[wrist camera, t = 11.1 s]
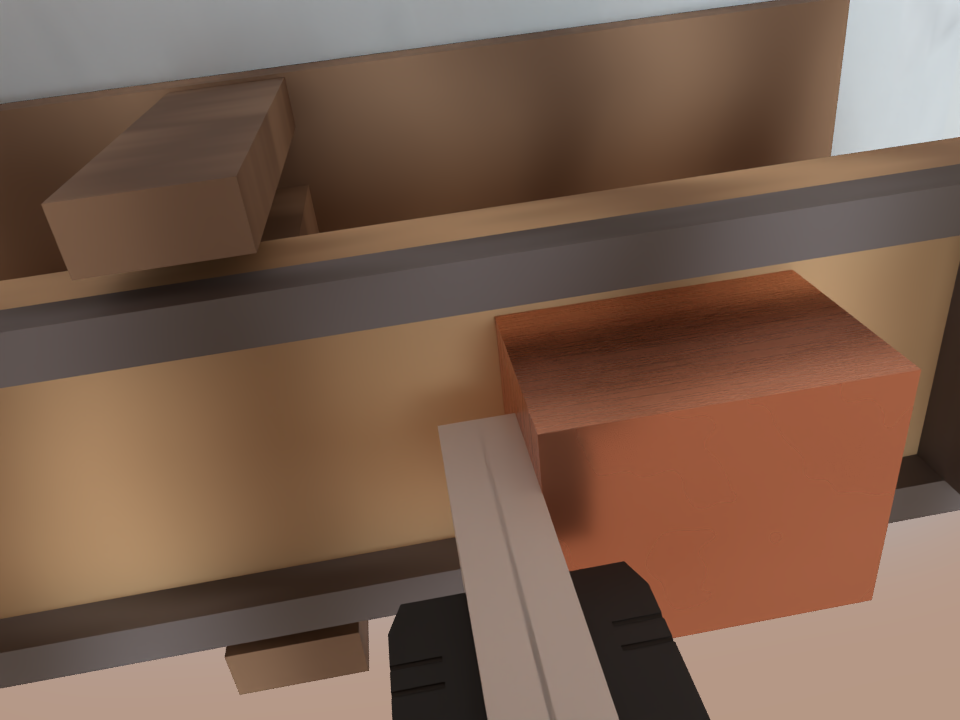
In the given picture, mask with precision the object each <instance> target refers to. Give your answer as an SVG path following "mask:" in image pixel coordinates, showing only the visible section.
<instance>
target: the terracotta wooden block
mask: <svg viewBox="0 0 960 720" xmlns="http://www.w3.org/2000/svg"><path fill="white" fill-rule="evenodd" d="M494 317H495V327H496V337H497V346H498V356H499V366H500V375H501V385H502V395H503V404H504V414H505V415H506V414H512V413H515V414H516V417H517V420H518V423H519V426H520V429H521V432H522V435H523V438H524V441H525V444H526V447H527V450H528V453H529V456H530V459H531V462H532V465H533V468H534V471H535V474H536V477H537V480H538V483H539V486H540V489H541V492H542V494H543V496H544V499H545V502H546V505H547V508H548V511H549V514H550V517H551V520H552V523H553V526H554V529H555V532H556V535H557V538H558V541H559V544H560V547H561V550H562V552H563V555H564V558H565V561H566V564H567V567H568V570H569V571H574V570H579V569H584V568H590V567H595V566H601V565H606V564H611V563H617V562H622V561H625V562H626V563H627V564H628V565H629V566H630V567H631V568H632V569H633V570H634V571H635V572H637V573H638V574H639V575H640V576H641V577H642V578H643V579H644V580H645V581H646V582H647V583H649V586H650V588H651V590H652V592H653V594H654V597H655V599H656V601H657V603H658V605H659V608H660V610H661V612H662V617H663V618H664V619H665V621H666V623H667V625H668V627H669V630H670V632H671V634H672V638H676V637H681V636H687V635H691V634H697V633H702V632H707V631H713V630H718V629H723V628H728V627H734V626H738V625H744V624H749V623H754V622H760V621H764V620H770V619H775V618H781V617H786V616H791V615H796V614H801V613H806V612H812V611H817V610H822V609H827V608H833V607H838V606H843V605H848V604H853V603H859V602H864V601H869V600H872V596H873V592H874V587H875V582H876V577H877V573H878V568H879V563H880V559H881V554H882V550H883V545H884V540H885V535H886V531H887V527H888V522H889V517H890V513H891V508H892V503H893V499H894V494H895V490H896V485H897V480H898V476H899V471H900V466H901V462H902V457H903V452H904V448H905V443H906V438H907V434H908V429H909V425H910V420H911V415H912V411H913V406H914V401H915V397H916V392H917V387H918V383H919V378H920V374H921V369H920V368H919V367H917V366H916V365H915V364H913V363H912V362H911V361H910V360H908V359H907V358H906V357H904V356H903V355H902V354H901V353H899V352H898V351H897V350H895V349H894V348H893V347H892V346H890V345H889V344H888V343H886V342H885V341H884V340H883V339H881V338H880V337H879V336H877V335H876V334H875V333H874V332H872V331H871V330H870V329H868V328H867V327H866V326H865V325H863V324H862V323H861V322H859V321H858V320H857V319H856V318H854V317H853V316H852V315H850V314H849V313H848V312H847V311H845V310H844V309H843V308H841V307H840V306H839V305H838V304H836V303H835V302H834V301H832V300H831V299H830V298H829V297H827V296H826V295H825V294H823V293H822V292H821V291H820V290H818V289H817V288H816V287H814V286H813V285H812V284H811V283H809V282H808V281H807V280H805V279H804V278H803V277H802V276H800V275H799V274H798V273H796V272H795V271H794V270H787V271H780V272H774V273H768V274H761V275H755V276H748V277H742V278H736V279H729V280H723V281H717V282H710V283H704V284H698V285H691V286H685V287H678V288H672V289H666V290H659V291H653V292H647V293H640V294H634V295H628V296H621V297H615V298H609V299H602V300H596V301H589V302H583V303H577V304H570V305H564V306H558V307H551V308H545V309H539V310H532V311H526V312H519V313H513V314H507V315H500V316H494Z"/></svg>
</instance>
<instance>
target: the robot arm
mask: <svg viewBox="0 0 960 720" xmlns="http://www.w3.org/2000/svg"><path fill="white" fill-rule="evenodd" d="M438 432H439V438H440V444H441V451H442V457H443V463H444V470H445V476H446V482H447V488H448V495H449V501H450V507H451V513H452V520H453V526H454V532H455V538H456V544H457V550H458V556H459V562H460V568H461V574H462V580H463V586H464V591H465V593H460V594H454V595H449V596H444V597H438V598H433V599H427V600H422V601H417V602H411V603H406V604H401V605H400V607H399V609H398V612H397V614H396V617H395V619H394V622H393V624H392V627H391V629H390V631H389V634H388V640H389V660H390V670H391V672H390V678H391V679H390V680H391V694H392V719H393V720H710V718H709V716H708V714H707V711H706V709H705V707H704V705H703V703H702V700H701V698H700V696H699V694H698V692H697V689H696V687H695V685H694V683H693V681H692V678H691V676H690V674H689V672H688V669H687V667H686V665H685V663H684V661H683V658H682V656H681V654H680V652H679V650H678V647H677V645H676V643H675V642H674V641H673V638H672V634H671V632H670V630H669V627H668V625H667V623H666V621H665V619H664V618H663V617H662V612H661V610H660V608H659V605H658V603H657V601H656V599H655V597H654V594H653V592H652V590H651V588H650V586H649V583H647V582H646V581H645V580H644V579H643V578H642V577H641V576H640V575H639V574H638V573H637V572H635V571H634V570H633V569H632V568H631V567H630V566H629V565H628V564H627V563H626V562H625V561H622V562H617V563H611V564H606V565H601V566H595V567H590V568H584V569H579V570H574V571H569V570H568V567H567V564H566V561H565V558H564V555H563V552H562V550H561V547H560V544H559V541H558V538H557V535H556V532H555V529H554V526H553V523H552V520H551V517H550V514H549V511H548V508H547V505H546V502H545V499H544V496H543V494H542V492H541V489H540V486H539V483H538V480H537V477H536V474H535V471H534V468H533V465H532V462H531V459H530V456H529V453H528V450H527V447H526V444H525V441H524V438H523V435H522V432H521V429H520V426H519V423H518V420H517V417H516V414H515V413H512V414H506V415H500V416H494V417H488V418H482V419H476V420H470V421H464V422H458V423H452V424H446V425H440V426H438Z"/></svg>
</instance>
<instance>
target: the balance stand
mask: <svg viewBox="0 0 960 720" xmlns="http://www.w3.org/2000/svg"><path fill="white" fill-rule="evenodd" d="M849 3H850V0H775V1H768V2H760V3H753V4H745V5H738V6H730V7H723V8H715V9H708V10H700V11H693V12H685V13H678V14H670V15H663V16H655V17H648V18H640V19H633V20H625V21H618V22H611V23H603V24H596V25H588V26H581V27H573V28H566V29H558V30H551V31H543V32H536V33H528V34H521V35H513V36H506V37H498V38H491V39H483V40H476V41H468V42H461V43H453V44H446V45H438V46H431V47H423V48H416V49H408V50H401V51H393V52H386V53H379V54H371V55H364V56H356V57H349V58H341V59H334V60H326V61H319V62H311V63H304V64H296V65H289V66H281V67H274V68H266V69H259V70H251V71H244V72H236V73H229V74H221V75H214V76H206V77H199V78H191V79H184V80H176V81H169V82H161V83H154V84H147V85H139V86H132V87H124V88H117V89H109V90H102V91H94V92H87V93H79V94H72V95H64V96H57V97H49V98H42V99H34V100H27V101H19V102H12V103H4V104H0V281H4V280H10V279H17V278H24V277H30V276H37V275H44V274H50V273H57V272H64V271H68V272H69V274H70V277H71V279H72V281H74V280H80V279H87V278H94V277H100V276H107V275H114V274H121V273H127V272H134V271H141V270H147V269H154V268H161V267H167V266H174V265H181V264H187V263H194V262H201V261H208V260H214V259H221V258H228V257H234V256H241V255H248V254H254V253H257V251H258V248H259V244H260V242H264V241H270V240H277V239H284V238H290V237H297V236H304V235H310V234H317V233H324V232H330V231H337V230H344V229H350V228H357V227H364V226H370V225H377V224H384V223H390V222H397V221H404V220H410V219H417V218H424V217H431V216H437V215H444V214H451V213H457V212H464V211H471V210H477V209H484V208H491V207H497V206H504V205H511V204H517V203H524V202H531V201H537V200H544V199H551V198H557V197H564V196H571V195H577V194H584V193H591V192H597V191H604V190H611V189H617V188H624V187H631V186H637V185H644V184H651V183H657V182H664V181H671V180H677V179H684V178H691V177H697V176H704V175H711V174H717V173H724V172H731V171H737V170H744V169H751V168H757V167H764V166H771V165H777V164H784V163H791V162H797V161H804V160H811V159H817V158H824V157H831V149H832V141H833V133H834V125H835V117H836V109H837V101H838V92H839V84H840V76H841V68H842V60H843V52H844V44H845V35H846V27H847V19H848V11H849ZM225 659H226V662H227V664H228V667H229V669H230V671H231V674H232V677H233V679H234V681H235V684H236V686H237V689H238V691H239V694H240V695H242V694H247V693H252V692H258V691H263V690H268V689H274V688H279V687H284V686H290V685H295V684H300V683H306V682H311V681H316V680H322V679H327V678H333V677H338V676H343V675H349V674H353V673H359V672H365V671H369V638H368V620H366V621H360V622H355V623H349V624H344V625H339V626H333V627H328V628H323V629H317V630H312V631H306V632H301V633H296V634H290V635H285V636H280V637H274V638H269V639H263V640H258V641H253V642H247V643H242V644H237V645H231V646H227V647H226V653H225Z"/></svg>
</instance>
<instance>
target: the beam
mask: <svg viewBox="0 0 960 720" xmlns="http://www.w3.org/2000/svg"><path fill="white" fill-rule="evenodd" d="M787 270H794V271H795V272H796V273H798V274H799V275H800V276H802V277H803V278H804V279H805V280H807V281H808V282H809V283H811V284H812V285H813V286H814V287H816V288H817V289H818V290H820V291H821V292H822V293H823V294H825V295H826V296H827V297H829V298H830V299H831V300H832V301H834V302H835V303H836V304H838V305H839V306H840V307H841V308H843V309H844V310H845V311H847V312H848V313H849V314H850V315H852V316H853V317H854V318H856V319H857V320H858V321H859V322H861V323H862V324H863V325H865V326H866V327H867V328H868V329H870V330H871V331H872V332H874V333H875V334H876V335H877V336H879V337H880V338H881V339H883V340H884V341H885V342H886V343H888V344H889V345H890V346H892V347H893V348H894V349H895V350H897V351H898V352H899V353H901V354H902V355H903V356H904V357H906V358H907V359H908V360H910V361H911V362H912V363H913V364H915V365H916V366H917V367H919V368H920V369H921V374H920V378H919V383H918V387H917V392H916V397H915V401H914V406H913V411H912V415H911V420H910V425H909V429H908V434H907V438H906V443H905V448H904V452H903V457H902V462H901V466H900V471H899V476H898V480H897V485H896V490H895V494H894V499H893V503H892V508H891V513H890V517H889V522H888V523H893V522H898V521H903V520H908V519H914V518H919V517H925V516H930V515H936V514H940V513H946V512H952V511H957V510H960V137H958V138H951V139H944V140H938V141H931V142H924V143H918V144H911V145H904V146H898V147H891V148H884V149H878V150H871V151H864V152H858V153H851V154H844V155H838V156H831V157H824V158H817V159H811V160H804V161H797V162H791V163H784V164H777V165H771V166H764V167H757V168H751V169H744V170H737V171H731V172H724V173H717V174H711V175H704V176H697V177H691V178H684V179H677V180H671V181H664V182H657V183H651V184H644V185H637V186H631V187H624V188H617V189H611V190H604V191H597V192H591V193H584V194H577V195H571V196H564V197H557V198H551V199H544V200H537V201H531V202H524V203H517V204H511V205H504V206H497V207H491V208H484V209H477V210H471V211H464V212H457V213H451V214H444V215H437V216H431V217H424V218H417V219H410V220H404V221H397V222H390V223H384V224H377V225H370V226H364V227H357V228H350V229H344V230H337V231H330V232H324V233H317V234H310V235H304V236H297V237H290V238H284V239H277V240H270V241H264V242H260V244H259V248H258V251H257V253H254V254H248V255H241V256H234V257H228V258H221V259H214V260H208V261H201V262H194V263H187V264H181V265H174V266H167V267H161V268H154V269H147V270H141V271H134V272H127V273H121V274H114V275H107V276H100V277H94V278H87V279H80V280H74V281H72V279H71V277H70V274H69V272H68V271H64V272H57V273H50V274H44V275H37V276H30V277H24V278H17V279H10V280H4V281H0V688H5V687H11V686H16V685H21V684H27V683H32V682H37V681H43V680H48V679H53V678H59V677H65V676H70V675H75V674H81V673H86V672H91V671H96V670H102V669H108V668H113V667H118V666H124V665H129V664H134V663H139V662H145V661H150V660H156V659H161V658H166V657H172V656H177V655H183V654H187V653H193V652H199V651H204V650H210V649H215V648H220V647H226V646H231V645H237V644H242V643H247V642H253V641H258V640H263V639H269V638H274V637H280V636H285V635H290V634H296V633H301V632H306V631H312V630H317V629H323V628H328V627H333V626H339V625H344V624H349V623H355V622H360V621H366V620H371V619H376V618H381V617H387V616H392V615H396V614H397V612H398V609H399V607H400V605H401V604H406V603H411V602H417V601H422V600H427V599H433V598H438V597H444V596H449V595H454V594H460V593H465V591H464V586H463V580H462V574H461V568H460V562H459V556H458V550H457V544H456V538H455V532H454V526H453V520H452V513H451V507H450V501H449V495H448V488H447V482H446V476H445V470H444V463H443V457H442V451H441V444H440V438H439V432H438V426H440V425H446V424H452V423H458V422H464V421H470V420H476V419H482V418H488V417H494V416H500V415H505V414H504V404H503V395H502V385H501V375H500V366H499V356H498V346H497V337H496V327H495V317H494V316H500V315H507V314H513V313H519V312H526V311H532V310H539V309H545V308H551V307H558V306H564V305H570V304H577V303H583V302H589V301H596V300H602V299H609V298H615V297H621V296H628V295H634V294H640V293H647V292H653V291H659V290H666V289H672V288H678V287H685V286H691V285H698V284H704V283H710V282H717V281H723V280H729V279H736V278H742V277H748V276H755V275H761V274H768V273H774V272H780V271H787Z"/></svg>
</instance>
